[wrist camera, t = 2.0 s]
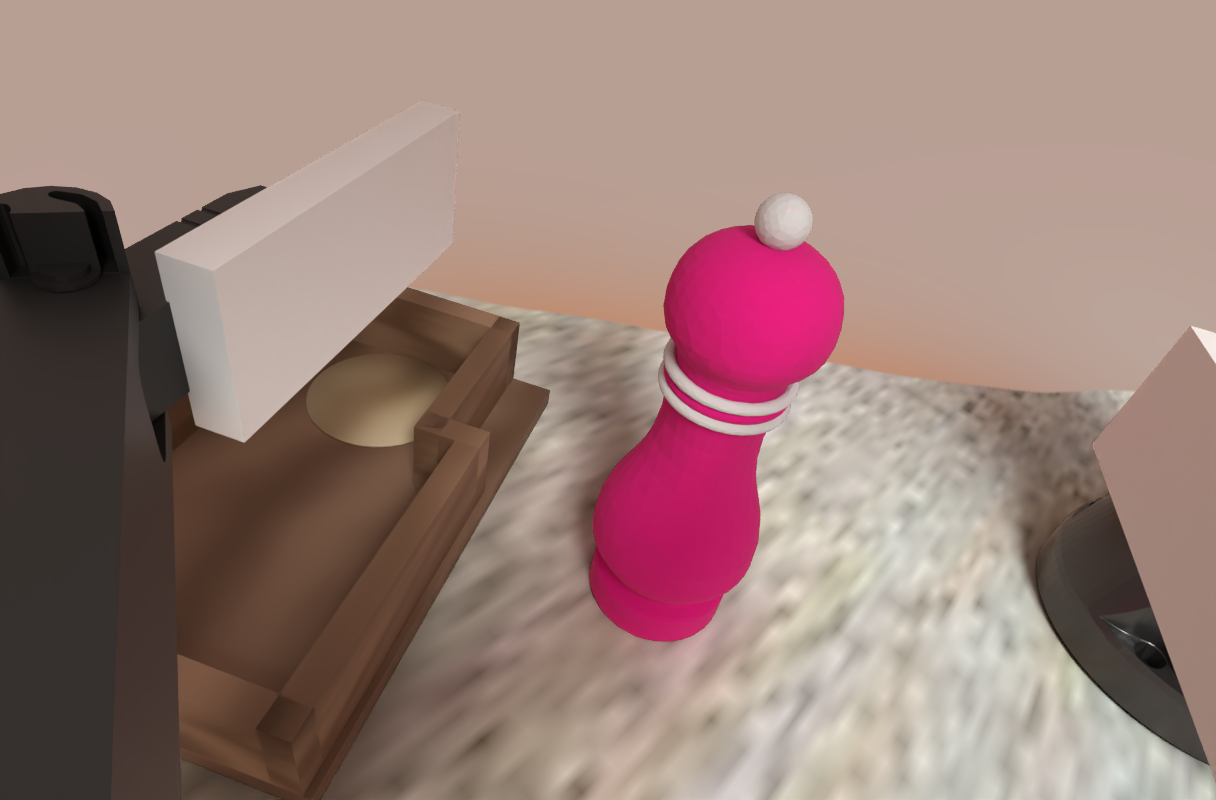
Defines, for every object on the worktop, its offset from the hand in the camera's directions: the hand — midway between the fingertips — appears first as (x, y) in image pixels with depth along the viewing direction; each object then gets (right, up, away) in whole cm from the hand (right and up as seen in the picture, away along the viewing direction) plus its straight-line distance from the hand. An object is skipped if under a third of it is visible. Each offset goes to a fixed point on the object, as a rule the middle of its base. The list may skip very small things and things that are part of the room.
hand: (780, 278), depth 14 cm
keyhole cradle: (-18, -7, +22) cm, 29 cm away
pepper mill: (-1, -11, +22) cm, 25 cm away
